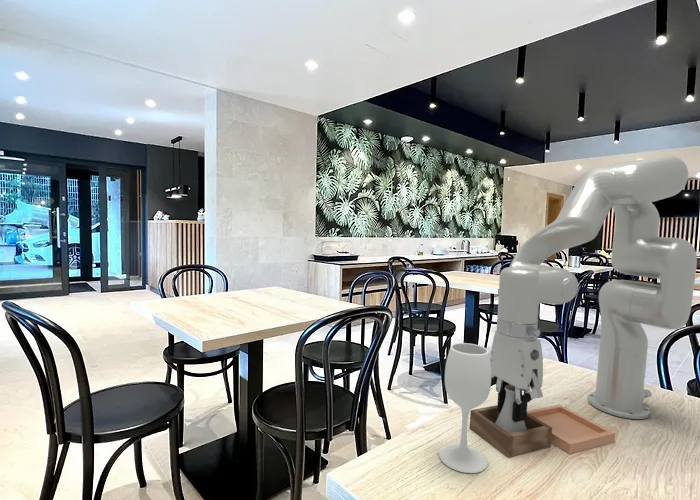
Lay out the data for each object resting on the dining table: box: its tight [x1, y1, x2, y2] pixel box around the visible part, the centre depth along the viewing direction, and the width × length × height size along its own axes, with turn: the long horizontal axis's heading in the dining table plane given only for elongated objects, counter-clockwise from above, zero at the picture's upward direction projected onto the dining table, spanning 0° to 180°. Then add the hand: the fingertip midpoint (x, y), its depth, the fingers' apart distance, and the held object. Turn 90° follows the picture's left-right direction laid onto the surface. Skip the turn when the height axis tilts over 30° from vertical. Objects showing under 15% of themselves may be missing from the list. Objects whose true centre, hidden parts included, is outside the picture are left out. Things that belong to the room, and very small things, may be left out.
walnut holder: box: [469, 404, 552, 459], centre depth 79 cm, size 11×11×4 cm
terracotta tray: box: [527, 404, 616, 455], centre depth 83 cm, size 13×13×2 cm
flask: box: [495, 385, 527, 434], centre depth 79 cm, size 7×7×10 cm
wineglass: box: [438, 342, 492, 474], centre depth 71 cm, size 9×9×21 cm
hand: (511, 414), depth 79 cm, fingers closed on flask, 3 cm apart
